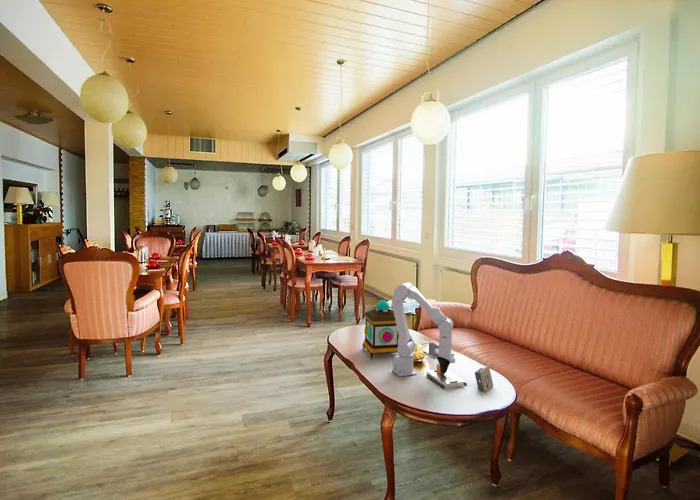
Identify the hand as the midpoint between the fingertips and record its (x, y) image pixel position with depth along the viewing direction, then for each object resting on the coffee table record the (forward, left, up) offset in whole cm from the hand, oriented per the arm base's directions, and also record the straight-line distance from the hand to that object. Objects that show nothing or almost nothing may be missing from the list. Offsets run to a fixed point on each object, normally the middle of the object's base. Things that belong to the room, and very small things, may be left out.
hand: (443, 372), depth 192 cm
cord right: (+7, -1, -4) cm, 8 cm away
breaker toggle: (0, +3, -1) cm, 3 cm away
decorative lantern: (-13, +42, -4) cm, 44 cm away
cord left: (-5, -1, -4) cm, 6 cm away
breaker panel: (0, -1, -4) cm, 4 cm away
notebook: (+17, +37, -4) cm, 41 cm away
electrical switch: (+13, -13, -4) cm, 19 cm away
